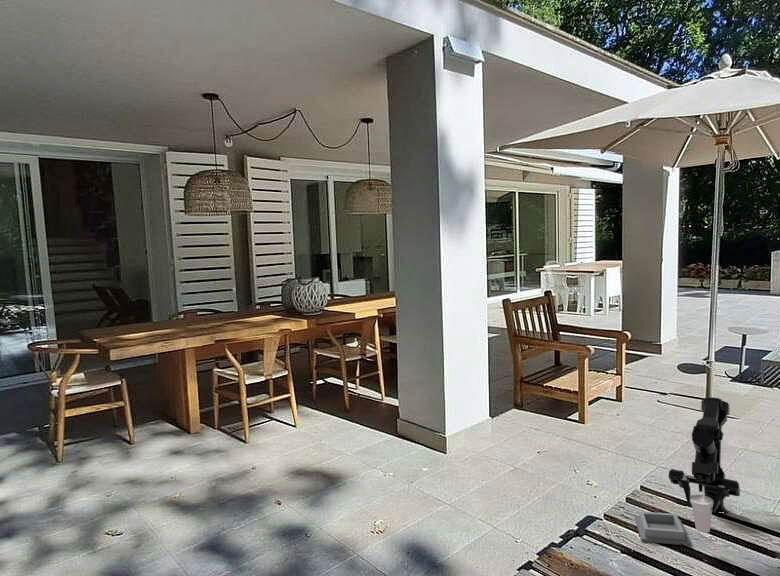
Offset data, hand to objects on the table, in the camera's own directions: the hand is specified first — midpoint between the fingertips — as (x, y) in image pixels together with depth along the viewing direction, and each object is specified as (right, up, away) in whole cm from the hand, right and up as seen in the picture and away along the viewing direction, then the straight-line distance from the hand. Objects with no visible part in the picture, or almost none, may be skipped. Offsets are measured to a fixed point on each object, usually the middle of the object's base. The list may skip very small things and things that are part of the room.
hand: (701, 509), depth 159 cm
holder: (-5, -13, +13) cm, 19 cm away
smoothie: (+2, -7, +2) cm, 7 cm away
